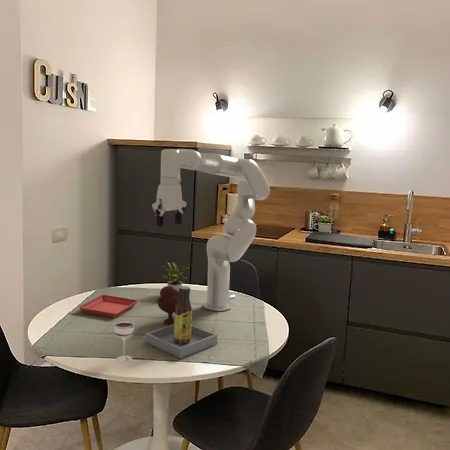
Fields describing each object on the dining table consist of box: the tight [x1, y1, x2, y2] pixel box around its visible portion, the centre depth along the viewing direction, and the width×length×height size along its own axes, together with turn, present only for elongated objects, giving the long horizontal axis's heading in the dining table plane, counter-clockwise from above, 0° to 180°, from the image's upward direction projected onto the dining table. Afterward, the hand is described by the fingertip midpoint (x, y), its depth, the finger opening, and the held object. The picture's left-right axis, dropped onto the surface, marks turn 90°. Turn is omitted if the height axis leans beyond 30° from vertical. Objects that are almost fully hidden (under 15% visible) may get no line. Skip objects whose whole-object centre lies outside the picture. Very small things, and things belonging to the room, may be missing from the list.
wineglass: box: [113, 319, 136, 363], centre depth 158 cm, size 7×7×12 cm
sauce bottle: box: [173, 285, 193, 344], centre depth 172 cm, size 7×6×20 cm
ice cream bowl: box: [156, 285, 179, 326], centre depth 191 cm, size 11×11×15 cm
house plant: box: [159, 262, 189, 291], centre depth 225 cm, size 14×14×16 cm
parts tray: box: [144, 324, 218, 360], centre depth 173 cm, size 18×18×4 cm
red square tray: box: [78, 294, 139, 319], centre depth 204 cm, size 18×18×3 cm
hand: (169, 224), depth 192 cm, fingers open, 9 cm apart
